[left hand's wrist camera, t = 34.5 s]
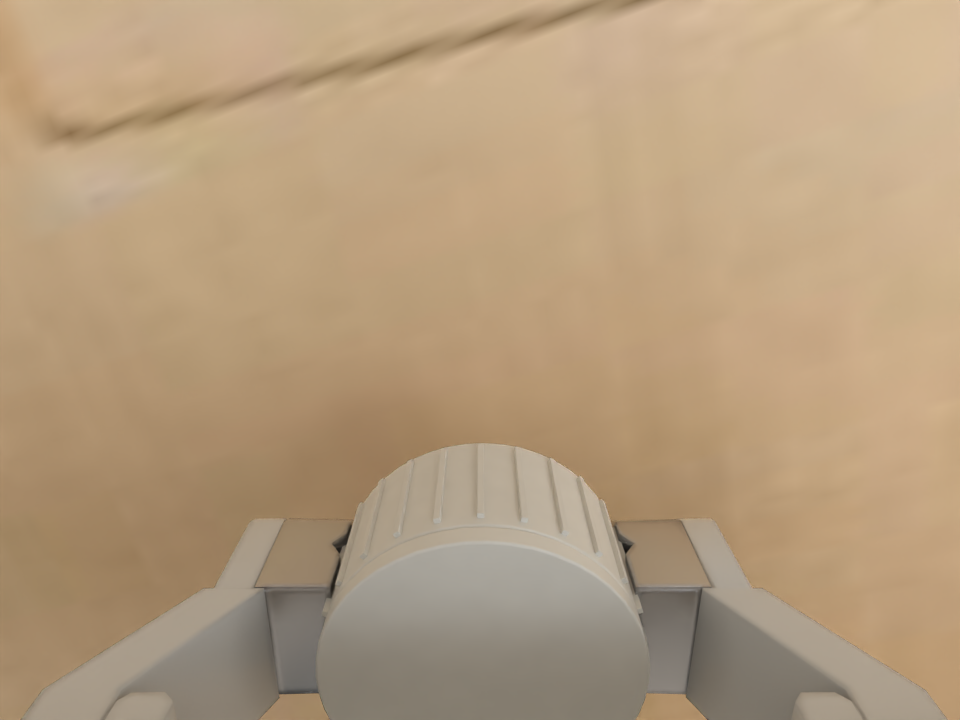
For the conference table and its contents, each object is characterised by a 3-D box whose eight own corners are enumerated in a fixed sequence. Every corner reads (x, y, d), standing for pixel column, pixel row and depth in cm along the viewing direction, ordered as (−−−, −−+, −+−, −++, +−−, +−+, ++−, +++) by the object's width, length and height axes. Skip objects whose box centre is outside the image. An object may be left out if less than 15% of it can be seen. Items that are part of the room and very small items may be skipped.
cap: (677, 542, 10) (728, 661, 8) (501, 702, 11) (505, 843, 9) (459, 383, 9) (454, 470, 7) (292, 576, 10) (244, 699, 8)
